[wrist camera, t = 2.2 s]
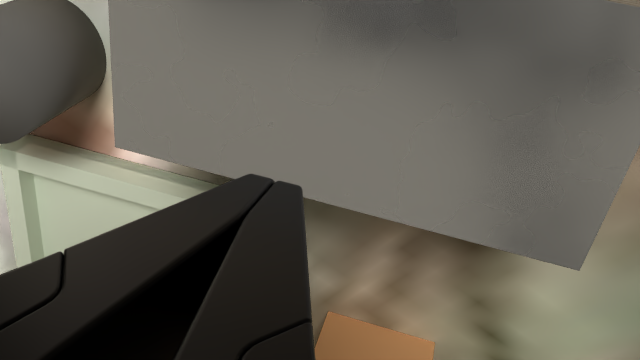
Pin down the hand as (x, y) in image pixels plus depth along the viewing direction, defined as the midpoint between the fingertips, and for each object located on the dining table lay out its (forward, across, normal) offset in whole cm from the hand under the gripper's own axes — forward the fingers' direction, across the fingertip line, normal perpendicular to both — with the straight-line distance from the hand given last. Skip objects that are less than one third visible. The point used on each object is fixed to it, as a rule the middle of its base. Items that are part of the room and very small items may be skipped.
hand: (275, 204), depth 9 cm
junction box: (+11, 0, 0) cm, 11 cm away
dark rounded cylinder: (+11, +12, +4) cm, 17 cm away
